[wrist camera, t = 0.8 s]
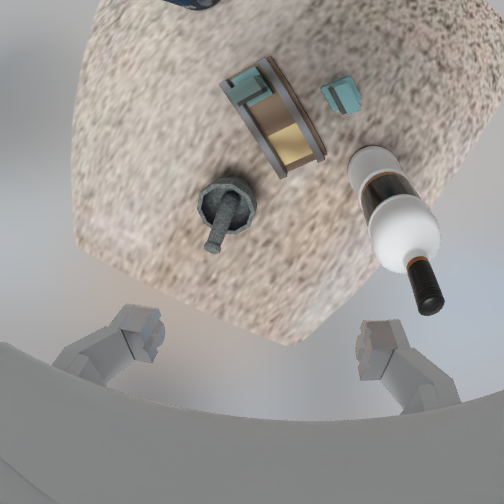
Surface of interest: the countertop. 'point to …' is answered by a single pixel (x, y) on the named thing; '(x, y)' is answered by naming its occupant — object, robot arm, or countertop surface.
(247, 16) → the countertop surface
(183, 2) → the soda can
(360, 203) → the vodka
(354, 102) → the teal t-block
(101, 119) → the countertop surface
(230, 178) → the mortar and pestle
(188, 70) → the countertop surface
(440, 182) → the countertop surface
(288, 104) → the rail
